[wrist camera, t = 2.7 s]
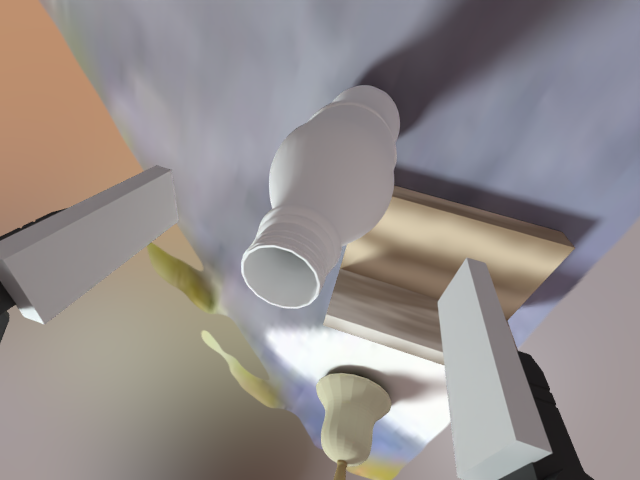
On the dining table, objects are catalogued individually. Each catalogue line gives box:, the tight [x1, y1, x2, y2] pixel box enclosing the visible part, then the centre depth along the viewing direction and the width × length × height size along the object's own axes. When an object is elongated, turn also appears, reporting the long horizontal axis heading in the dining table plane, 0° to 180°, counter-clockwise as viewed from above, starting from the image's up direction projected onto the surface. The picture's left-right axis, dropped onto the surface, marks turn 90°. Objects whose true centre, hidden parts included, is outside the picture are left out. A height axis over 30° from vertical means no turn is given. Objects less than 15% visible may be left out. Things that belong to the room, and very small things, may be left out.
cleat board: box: [323, 186, 575, 365], centre depth 32 cm, size 14×22×11 cm, turn 80°
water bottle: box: [241, 85, 400, 308], centre depth 20 cm, size 7×7×25 cm
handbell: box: [316, 373, 392, 480], centre depth 49 cm, size 15×15×25 cm
